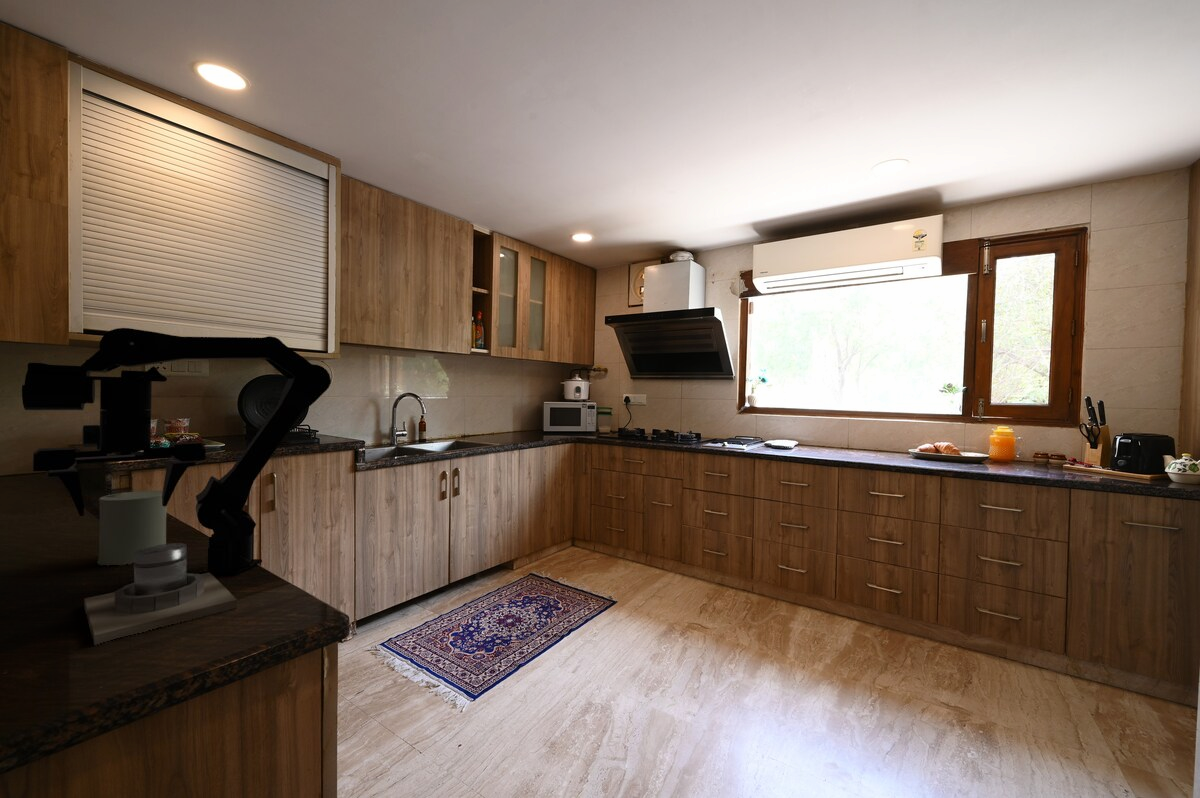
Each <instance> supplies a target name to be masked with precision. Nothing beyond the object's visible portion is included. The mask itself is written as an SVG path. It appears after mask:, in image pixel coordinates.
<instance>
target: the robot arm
mask: <svg viewBox="0 0 1200 798" xmlns="http://www.w3.org/2000/svg"><path fill="white" fill-rule="evenodd" d="M98 347H99V350H98V351H97V352H94V354H93V355H91V356H90V357H89V358H88V359H85V362H84V363H82V364H81V365H66V364H65V365H64V364H63V365H62V364H47V363H43V362H29V363H27V371H26V374H25V377H24V384H22V385H21V399H22V405H23V409H24V410H25V411H83V410H84V409H85V405H86V404H94V403H95V401H96V400H95V399H96V381H100V382H99V383H100V389H99V390H100V391H99V392H100V393H99V399H100V400H99V425H98V424H94V425H91V424H90V425H87V424H86V425H85V424H84V425H83V426H82V447H83V448H96V450H84V451H76V448H75V447H74V446H69V447H65V446H64V447H49V448H48V447H47V448H45V447H43V448H38V449H37V450H35V451H34V452H33V453H32V470H33V472H46V476H47V477H49V478H51V477H57V478H59V480H60V481H61V483H62V484H63V485H64V487H65V489H66V490H67V491H68V493H69V494H70V498H71V499H72V501H73V504H74V506H75V508H76V511H77V513H78V515H79V517H83V516H84V515H85V504H84V497H83V492H82V486H81V481H80V473H79V470H78V469H77V465H80V464H93V463H110V462H126V461H128V462H129V461H141V460H157V459H158V460H159V459H169V460H166V461H165V475H164V480H163V487H162V491H163V493H162V506H168V504H169V501H170V499H171V497H172V496H173V492H174V491H175V488H176V486H177V485H178V483H179V481H180V479H181V478H182V476H183V475H184V474H185V472H186V470H187V468H189V467H195V466H196V462H194V461H205V460H206V451H207V450H206V446H205V445H204V444H202V443H201V442H198V441H179V442H178V441H177V442H169V443H168V446H163V447H161V446H160V447H152V446H151V445H152V444H151V443H152V398H153V397H152V391H153V389H152V386H153V384H152V382H153V383H154V382H157V383H158V382H159V383H164V382H166V381H168V378H167V377H166V376H165V375H163V374H162V373H161V372H159V370H158V369H157V367H156V366H152V367H150V368H149V369H148V370H121V372H120V376H100V375H99V376H97V375H95V376H91V373H103V374H104V373H108V372H111V371H114V370H115V369H118V368H119V367H123V368H135V367H142V366H150V365H155V364H162V363H167V362H175V361H180V360H181V361H182V360H237V359H238V360H241V359H243V360H246V359H248V360H257V359H258V360H259V359H262V360H265V361H266V362H267V363H268V364H270V365H271V367H273V368H274V369H275V370H276V371H277V372H278V373H280V374H281V375H282V376H283V377H285V378H286V379H287V381H286V383H285V385H284V387H283V390H282V393H281V396H280V397H279V401H278V404H277V405H276V407H275V408H274V409H273V410H272V412H271V413H270V415H269V416H268V417H267V418H266V420H265V422H264V423H263V424H262V426H261V427H260V429H259V430H258V431H257V433H256V434H255V435H254V437H253V438H252V440H251V441H250V442H249V444H248V445H247V446H246V448H245V449H244V451H243V452H242V453H241V455H240V456H239V458H238V459H237V460H236V462H235V463H234V465H233V466H232V467H231V468H230V469H229V471H227V473H226V474H224V475H223V476H222V477H220V479H218V478H216V477H214V476H213V475H212V476H210V478H209V479H208V481H207V483H206V485H205V487H204V489H203V490H202V491H200V493H198V494H197V495H195V499H196V502H197V503H196V504H195V512H196V513H195V514H196V516H197V520H198V523H199V524H200V525H201V526H202V527H203V528H206V529H208V530H212V532H213V533H212V534H211V535H210V536H209V537H208V547H207V560H206V561H207V562H206V565H207V567H205V568H203V569H200V570H199V571H198V574H205V573H209V572H210V573H211V574H212V575H237V574H240V573H242V572H244V570H245V571H246V569H247V570H249V569H250V568H253V567H255V566H257V565H259V564H261V563H263V559H261V558H257V559H256V558H254V557H255V555H254V554H255V553H254V551H255V550H254V549H255V528H256V525H257V523H256V522H255V520H254V519H253V518H252V516H251V514H249V512H247V511H246V510H244V507H245V506H246V503H247V501H248V498H249V495H250V494H251V490H252V488H253V485H254V483H255V481H256V479H257V478H258V476H259V474H260V473H261V472H262V470H263V469H264V467H265V466H266V464H267V463H268V462H269V460H270V459H271V457H272V456H273V455H274V453H275V452H276V451H277V448H278V447H279V446H280V445H281V443H283V442H282V441H283V440H284V438H285V437H286V436H287V434H288V433H289V431H290V430H291V428H292V427H293V425H294V424H295V423H296V421H298V418H299V417H300V415H301V414H302V413H303V412H305V411H306V410H307V409H308V408H310V406H312V405H313V404H314V403H315V402H316V401H317V400H318V399H319V398H320V397H321V396H322V395H324V393H326V392H327V391H328V389H329V388H330V386H331V383H332V380H331V375H330V373H329V372H328V370H327V369H326V368H324V366H321V365H319V364H313V363H311V362H310V361H309V360H307V359H306V358H305V357H303V356H302V355H300V354H299V353H297V352H296V351H294V350H293V349H291V348H290V347H288V346H287V345H286V344H285V343H284V342H282V340H281V339H280V338H277V337H276V336H270V335H268V336H265V337H244V336H243V337H241V336H240V337H239V336H238V337H237V336H235V337H233V336H227V337H226V336H180V335H173V334H167V333H162V332H157V331H156V332H155V331H151V330H144V329H137V328H131V327H120V328H119V327H118V328H115V329H111V330H109V331H107V332H106V333H105V334H104V335H103V336H102V337H101V339H100V340H99V346H98ZM114 453H115V454H114ZM241 556H242V557H241ZM244 558H246V559H248V560H250V561H251V562H253V563H254V564H256V565H255V566H254V565H253V564H252V563H251V562H249V561H247V560H246V559H244ZM250 564H252V566H251V565H250Z"/></svg>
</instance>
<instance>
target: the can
mask: <svg viewBox="0 0 1200 798" xmlns="http://www.w3.org/2000/svg"><path fill="white" fill-rule="evenodd" d="M162 493H163V490H141V491H140V490H139V491H137V490H136V491H128V492H126V491H124V492H119V493H113V494H109V495H104V496H101V497H99V499H98V502H99V530H98V531H99V537H98V539H99V540H98V542H99V544H98V545H99V546H98V558H97V559H98V560H97V565H99V566H103V565H107V566H106V567H110V566H109V565H119V566H127V565H126V564H128V565H133V564H132V563H134V553H135V552H136V551H138V550H141V549H144V548H147V547H152V546H157V545H163V544H167V506H168V505H167V506H162Z"/></svg>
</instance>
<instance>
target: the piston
mask: <svg viewBox="0 0 1200 798" xmlns="http://www.w3.org/2000/svg"><path fill="white" fill-rule="evenodd" d="M187 551H188V548H187V544H185V543H181V542H180V543H179V542H177V543H176V542H175V543H173V542H172V543H166V544H163V545H157V546H152V547H147V548H144V549H141V550H138V551H136V552H135V553H134V564H133V573H134V576H133V583H134V596H143V595H153V594H159V593H164V592H168V591H173V590H177V589H179V588H182V587H185V586H187V573H188V569H187V568H188V565H187V564H188V561H187V559H188V552H187Z"/></svg>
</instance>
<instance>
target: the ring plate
mask: <svg viewBox="0 0 1200 798" xmlns="http://www.w3.org/2000/svg"><path fill="white" fill-rule="evenodd" d="M83 601H84V603H83V605H84V606H83V608H84V612H85V614H86V615H87V616H86V618H87V623H88V626H89V630H90V633H91V634H90V635H91V638H92V641H93V645H94V646H98V645H101V644H100V643H102V644H104V643H103V642H105V643H108V642H107V641H109V642H111V641H110V640H113V639H116V638H120V637H124V636H128V635H132V636H134V635H133V634H136V635H138V634H137V633H140V634H142V632H144V633H147V632H149V631H148V630H151V631H153V630H152V629H155V630H157V629H156V628H158V627H163V628H165V627H164V626H166V627H168V626H167V625H170V626H172V625H171V624H174V625H177V623H178V624H181V623H180V622H182V623H185V622H189V621H192V619H193V620H197V619H201V618H204V616H205V617H208V616H212V615H216V614H220V613H223V612H227V611H230V609H231V610H235V609H237V608H238V599H237V598H236V597H235V596H234V595H233V594H232V593H231V592H230V591H229V590H228V589H227V588H226V587H225V586H224V585H223V584H222V583H221V582H220V581H219V580H218V579H217V578H216V577H215V576H214V574H211V573H210V572H209V573H205V574H199V573H190V572H187V586H185V587H182V588H179V589H177V590H173V591H168V592H164V593H159V594H153V595H143V596H134V582H131V583H129V584H126V585H124V586H122V587H120V588H119V589H118V590H115V591H114V592H113V591H112V592H109V593H105V594H100V595H94V596H91V597H86V598H84V600H83ZM234 608H235V609H234ZM196 618H197V619H196ZM184 621H185V622H184ZM146 631H147V632H146ZM128 637H129V636H128ZM124 638H125V637H124ZM113 641H114V640H113ZM97 644H98V645H97Z"/></svg>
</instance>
